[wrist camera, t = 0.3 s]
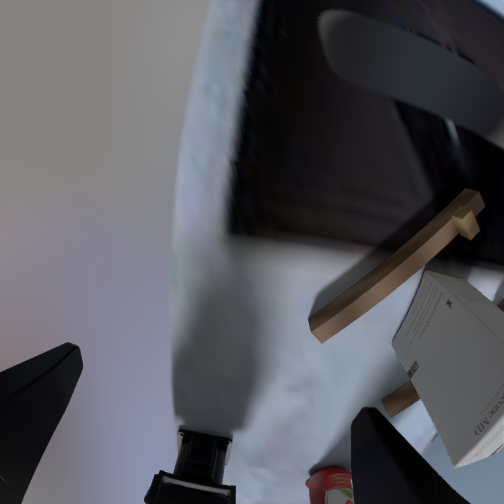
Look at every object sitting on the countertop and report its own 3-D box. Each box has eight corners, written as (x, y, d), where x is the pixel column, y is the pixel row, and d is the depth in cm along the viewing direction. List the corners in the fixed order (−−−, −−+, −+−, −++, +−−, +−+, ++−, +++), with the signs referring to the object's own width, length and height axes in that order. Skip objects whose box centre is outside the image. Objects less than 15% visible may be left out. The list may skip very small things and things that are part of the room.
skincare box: (423, 267, 22) (536, 370, 8) (468, 279, 22) (568, 366, 8) (387, 348, 25) (450, 473, 11) (432, 352, 25) (499, 457, 11)
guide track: (387, 406, 27) (396, 428, 24) (306, 317, 24) (311, 341, 21) (506, 308, 23) (523, 322, 20) (464, 185, 20) (488, 191, 16)
